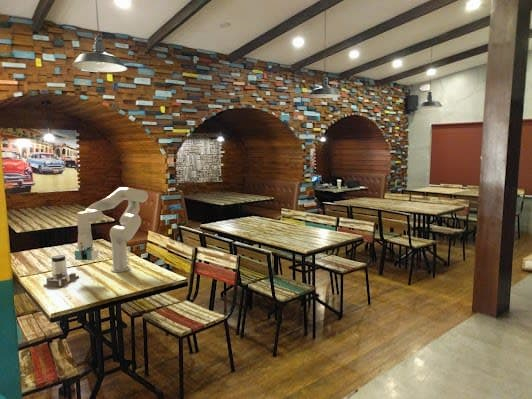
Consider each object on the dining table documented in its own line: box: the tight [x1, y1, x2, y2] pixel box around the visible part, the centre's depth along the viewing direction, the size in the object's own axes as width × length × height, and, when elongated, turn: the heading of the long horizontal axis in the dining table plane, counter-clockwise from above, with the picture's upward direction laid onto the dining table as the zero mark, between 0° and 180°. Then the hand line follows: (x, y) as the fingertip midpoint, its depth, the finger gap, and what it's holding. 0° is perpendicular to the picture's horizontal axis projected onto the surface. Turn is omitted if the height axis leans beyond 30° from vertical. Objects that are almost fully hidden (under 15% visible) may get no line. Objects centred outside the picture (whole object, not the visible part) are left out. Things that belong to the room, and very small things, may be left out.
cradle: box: [43, 272, 80, 288], centre depth 257 cm, size 19×12×4 cm, turn 174°
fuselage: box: [74, 248, 99, 261], centre depth 258 cm, size 13×5×6 cm, turn 84°
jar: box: [50, 254, 68, 276], centre depth 273 cm, size 9×8×12 cm
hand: (86, 257), depth 259 cm, fingers closed on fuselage, 5 cm apart
